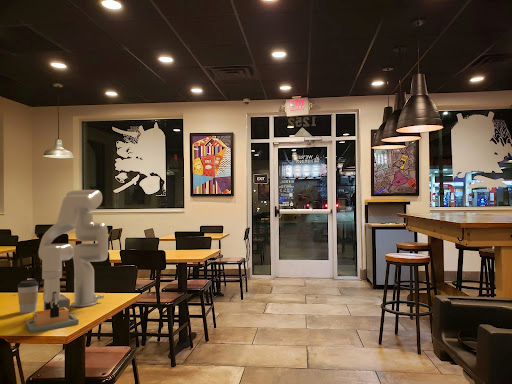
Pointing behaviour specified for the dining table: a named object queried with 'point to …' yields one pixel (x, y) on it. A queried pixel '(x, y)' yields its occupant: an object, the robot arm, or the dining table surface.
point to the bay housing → (62, 303)
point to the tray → (51, 325)
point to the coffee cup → (28, 295)
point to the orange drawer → (45, 318)
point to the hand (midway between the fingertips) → (52, 314)
